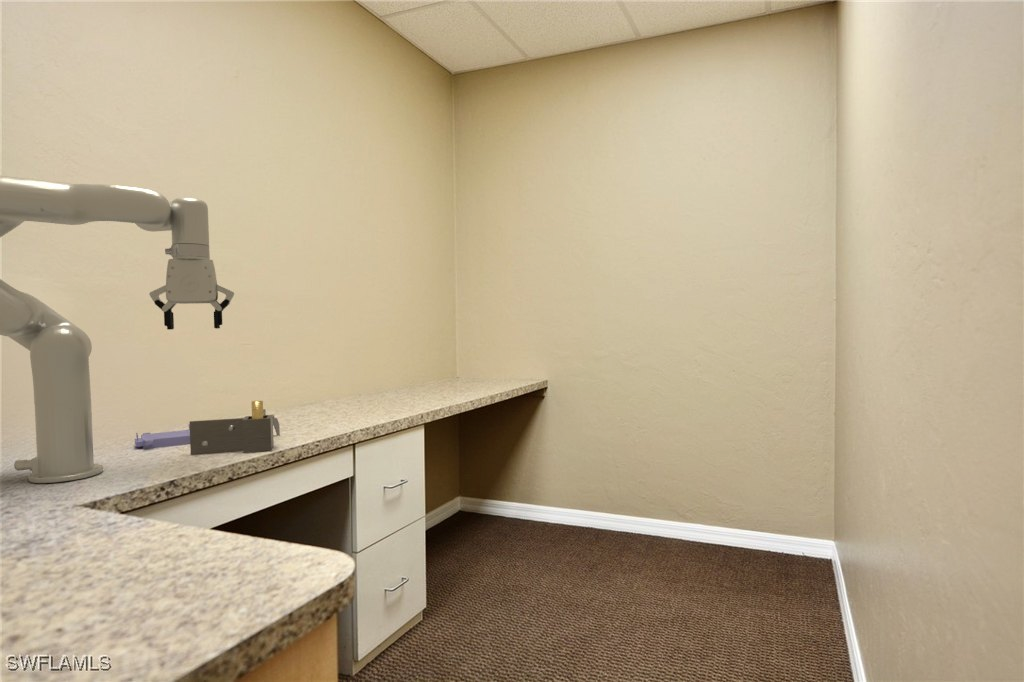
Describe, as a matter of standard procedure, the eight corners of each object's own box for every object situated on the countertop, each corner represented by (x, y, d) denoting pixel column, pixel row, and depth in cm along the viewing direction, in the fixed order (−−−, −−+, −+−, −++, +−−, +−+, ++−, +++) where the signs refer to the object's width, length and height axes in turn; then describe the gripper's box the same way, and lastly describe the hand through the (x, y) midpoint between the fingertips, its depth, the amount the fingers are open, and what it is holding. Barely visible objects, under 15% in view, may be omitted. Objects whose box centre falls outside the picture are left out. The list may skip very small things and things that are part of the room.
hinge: (188, 457, 144) (186, 423, 144) (203, 442, 161) (202, 412, 161) (271, 450, 149) (270, 418, 149) (277, 437, 167) (276, 408, 167)
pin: (252, 450, 150) (250, 402, 149) (253, 448, 152) (252, 401, 152) (263, 449, 150) (262, 401, 150) (264, 448, 153) (263, 400, 153)
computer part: (134, 444, 164) (136, 453, 152) (133, 428, 164) (135, 436, 152) (252, 431, 181) (263, 438, 169) (252, 416, 181) (262, 423, 168)
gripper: (143, 251, 133) (146, 330, 133) (230, 252, 138) (232, 328, 138) (153, 255, 140) (156, 329, 140) (234, 256, 145) (237, 328, 145)
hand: (194, 328), depth 139 cm, fingers open, 9 cm apart
